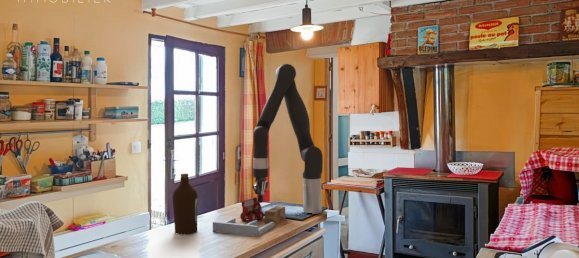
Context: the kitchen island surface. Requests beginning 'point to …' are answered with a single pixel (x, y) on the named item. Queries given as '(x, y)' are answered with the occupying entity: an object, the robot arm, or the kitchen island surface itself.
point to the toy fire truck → (251, 210)
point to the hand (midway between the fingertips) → (260, 202)
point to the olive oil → (185, 207)
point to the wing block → (275, 214)
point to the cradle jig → (241, 227)
